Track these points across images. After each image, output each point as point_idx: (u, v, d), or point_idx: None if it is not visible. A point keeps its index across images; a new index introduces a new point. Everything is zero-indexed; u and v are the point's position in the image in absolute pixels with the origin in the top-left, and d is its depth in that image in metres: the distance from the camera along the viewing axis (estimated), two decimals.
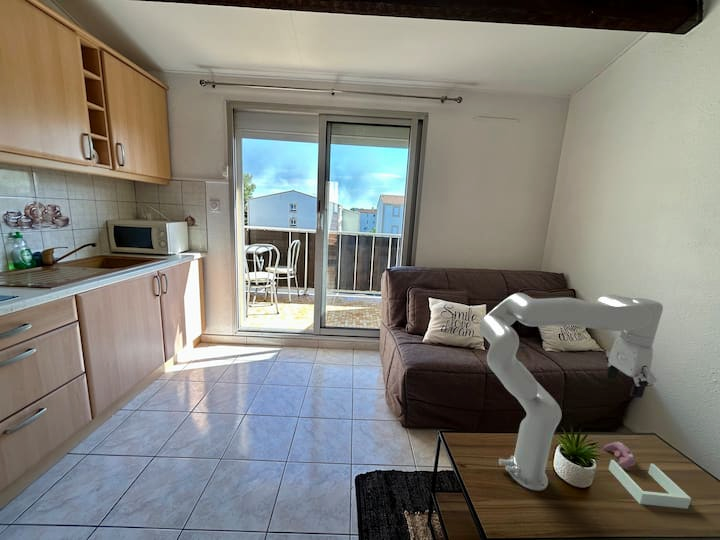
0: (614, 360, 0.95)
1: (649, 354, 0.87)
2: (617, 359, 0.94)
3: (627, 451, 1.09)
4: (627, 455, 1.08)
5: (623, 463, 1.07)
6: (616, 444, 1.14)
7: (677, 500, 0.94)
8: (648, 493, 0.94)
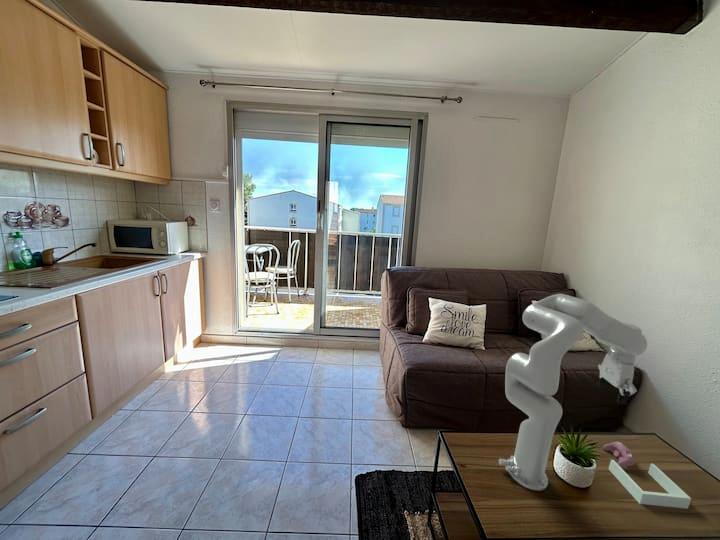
0: (604, 373, 1.15)
1: (631, 369, 1.07)
2: (606, 372, 1.14)
3: (626, 451, 1.09)
4: (626, 455, 1.08)
5: (622, 463, 1.07)
6: (615, 444, 1.14)
7: (677, 500, 0.94)
8: (648, 493, 0.94)
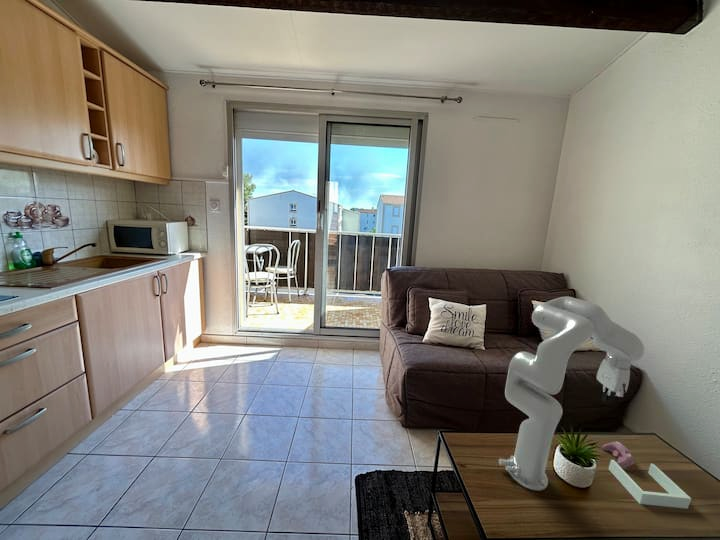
0: (601, 378, 1.20)
1: (627, 374, 1.11)
2: (603, 377, 1.18)
3: (625, 451, 1.09)
4: (625, 455, 1.08)
5: (621, 463, 1.07)
6: (614, 444, 1.14)
7: (677, 500, 0.94)
8: (648, 493, 0.94)
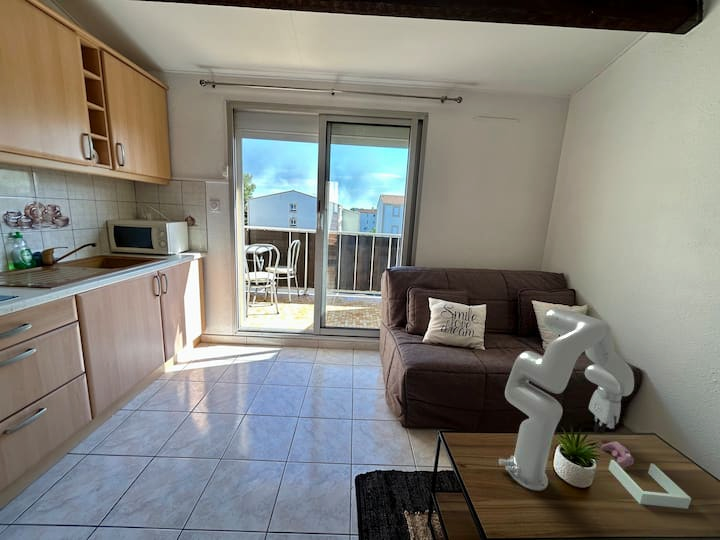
0: (593, 408, 1.22)
1: (618, 407, 1.14)
2: (595, 408, 1.21)
3: (625, 451, 1.09)
4: (625, 455, 1.08)
5: (621, 463, 1.07)
6: (614, 444, 1.14)
7: (677, 500, 0.94)
8: (648, 493, 0.94)
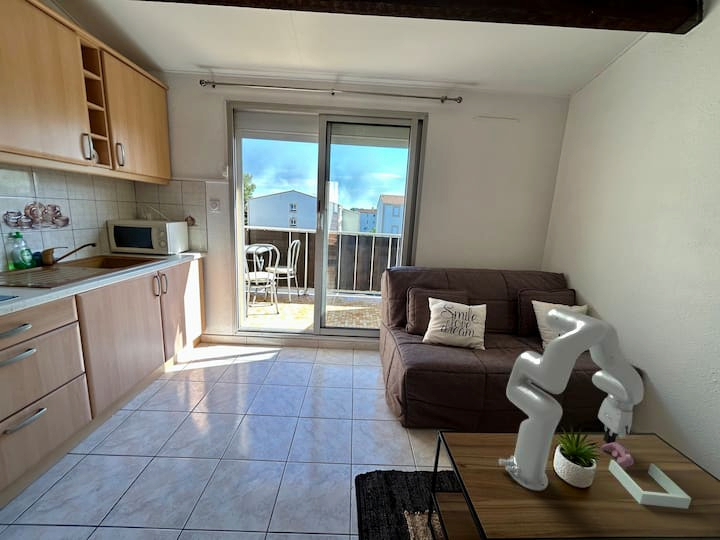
0: (602, 417, 1.17)
1: (629, 417, 1.09)
2: (605, 417, 1.16)
3: (625, 451, 1.09)
4: (624, 455, 1.08)
5: (620, 463, 1.07)
6: (614, 444, 1.13)
7: (677, 500, 0.94)
8: (648, 493, 0.94)
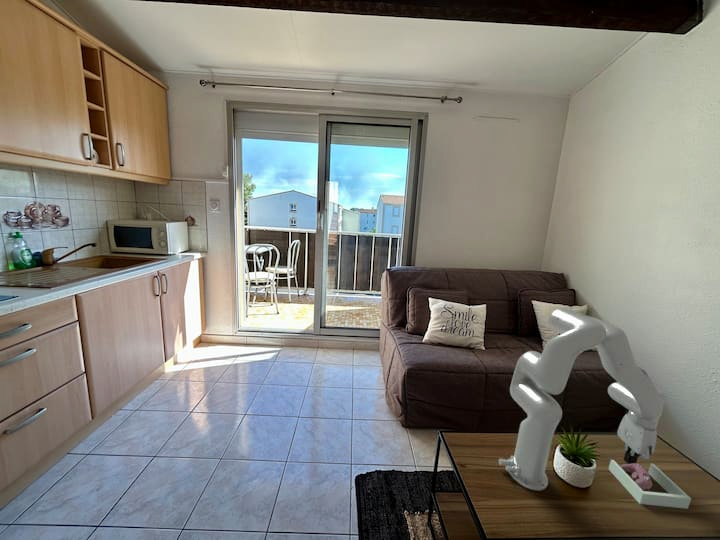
0: (622, 435, 1.08)
1: (654, 436, 1.00)
2: (625, 435, 1.07)
3: (643, 473, 1.00)
4: (642, 477, 0.99)
5: None
6: (634, 465, 1.04)
7: (677, 500, 0.94)
8: (648, 493, 0.94)
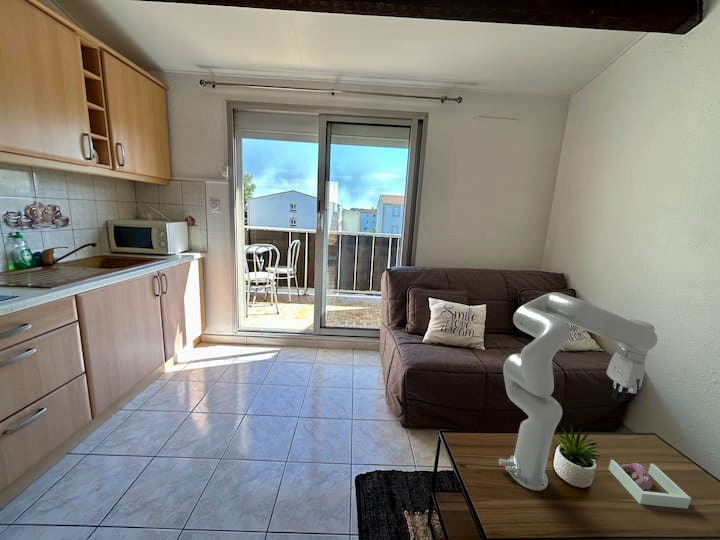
0: (611, 373, 1.08)
1: (642, 369, 1.01)
2: (614, 372, 1.07)
3: (643, 473, 1.00)
4: (642, 477, 0.99)
5: None
6: (634, 465, 1.04)
7: (677, 500, 0.94)
8: (648, 493, 0.94)
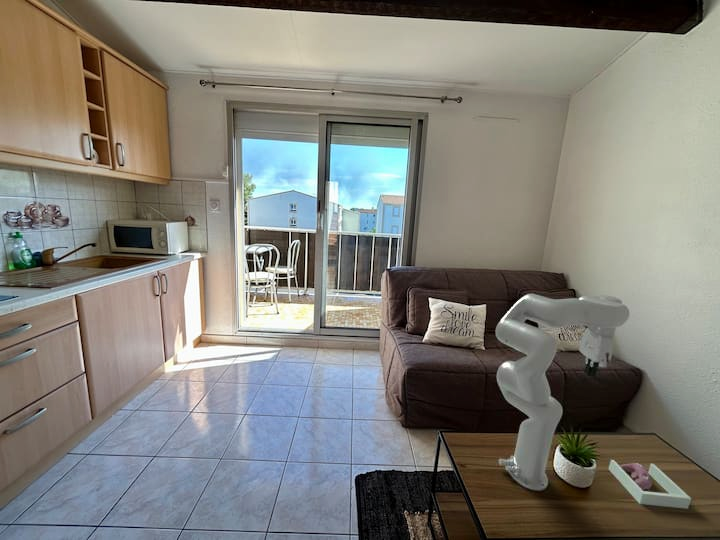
0: (583, 349, 1.10)
1: (610, 343, 1.02)
2: (585, 348, 1.09)
3: (643, 473, 1.00)
4: (641, 477, 0.99)
5: None
6: (634, 465, 1.04)
7: (677, 500, 0.94)
8: (648, 493, 0.94)
